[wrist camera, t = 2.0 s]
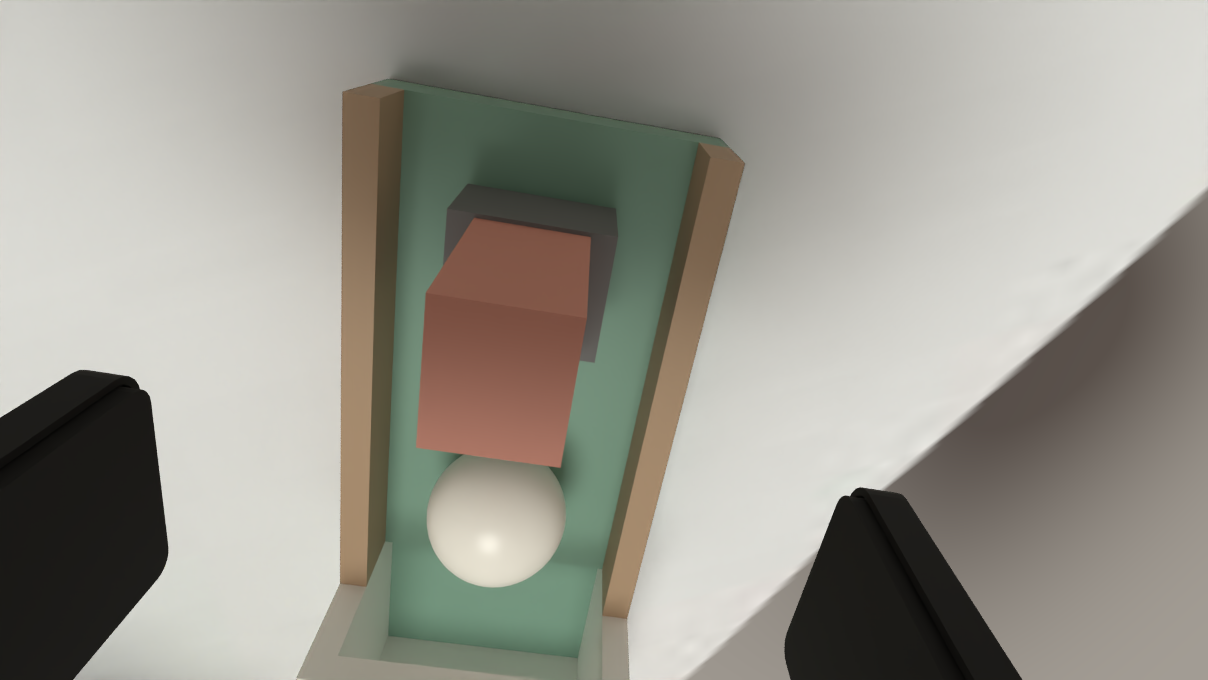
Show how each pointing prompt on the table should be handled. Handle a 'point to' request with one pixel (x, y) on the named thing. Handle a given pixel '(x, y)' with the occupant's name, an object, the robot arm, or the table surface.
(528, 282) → the kicker
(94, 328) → the table surface
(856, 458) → the table surface
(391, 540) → the pitch
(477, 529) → the ball
